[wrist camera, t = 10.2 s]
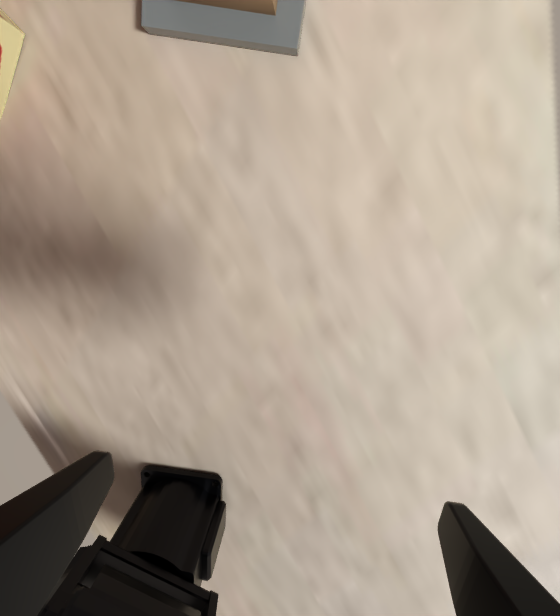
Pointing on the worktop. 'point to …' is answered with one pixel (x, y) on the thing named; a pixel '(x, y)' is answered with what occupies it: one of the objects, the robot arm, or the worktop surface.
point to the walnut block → (241, 5)
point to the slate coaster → (227, 24)
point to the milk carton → (8, 55)
